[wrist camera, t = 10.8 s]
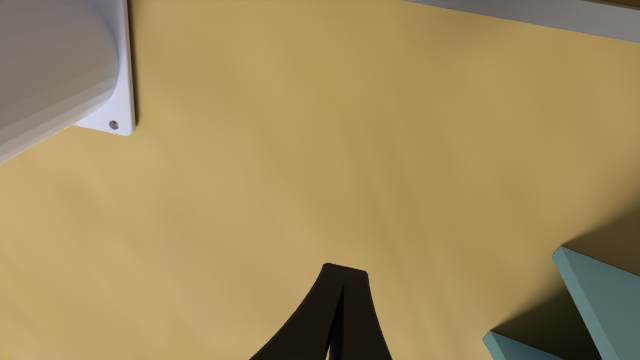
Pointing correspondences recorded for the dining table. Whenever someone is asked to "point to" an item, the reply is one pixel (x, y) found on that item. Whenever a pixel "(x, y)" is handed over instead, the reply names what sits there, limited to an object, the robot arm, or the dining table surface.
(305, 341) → the robot arm
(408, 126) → the dining table surface
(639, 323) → the light blue tall block
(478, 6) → the grey piece
